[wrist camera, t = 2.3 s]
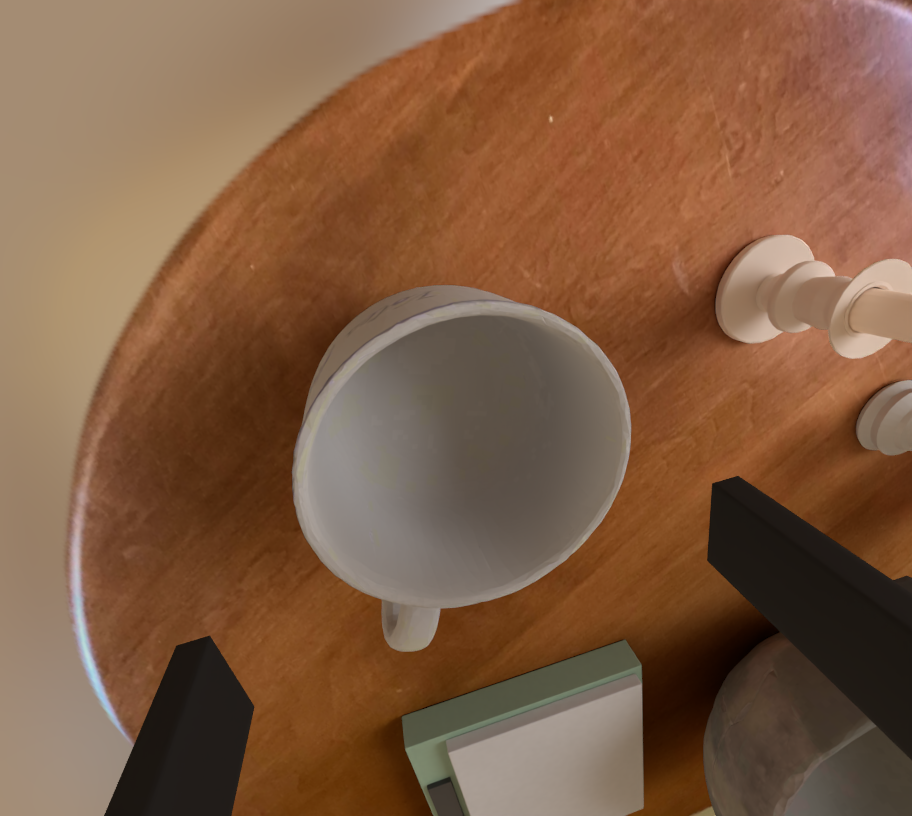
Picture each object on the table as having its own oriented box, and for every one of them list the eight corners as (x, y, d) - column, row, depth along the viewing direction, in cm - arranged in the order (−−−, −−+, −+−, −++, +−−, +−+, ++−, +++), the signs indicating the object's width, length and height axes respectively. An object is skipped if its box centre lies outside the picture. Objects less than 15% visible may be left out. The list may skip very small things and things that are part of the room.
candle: (780, 345, 24) (1057, 428, 14) (699, 336, 23) (945, 422, 13) (823, 242, 22) (1174, 261, 13) (737, 226, 21) (1056, 235, 11)
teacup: (376, 219, 17) (392, 222, 10) (586, 337, 21) (706, 399, 14) (252, 502, 21) (199, 652, 14) (451, 558, 25) (491, 698, 18)
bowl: (792, 737, 42) (911, 879, 33) (611, 750, 36) (696, 926, 27) (921, 571, 35) (1113, 692, 26) (724, 554, 30) (886, 701, 21)
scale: (451, 838, 36) (458, 884, 34) (401, 716, 29) (406, 763, 27) (630, 770, 38) (649, 809, 36) (625, 639, 31) (649, 676, 28)
